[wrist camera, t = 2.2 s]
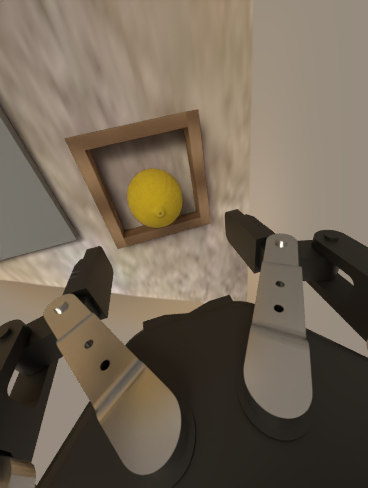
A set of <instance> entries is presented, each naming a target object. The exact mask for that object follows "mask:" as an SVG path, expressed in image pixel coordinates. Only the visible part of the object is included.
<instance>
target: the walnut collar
mask: <svg viewBox="0 0 368 488" xmlns="http://www.w3.org/2000/svg"><path fill="white" fill-rule="evenodd" d="M181 128H184V133H185V140H186V147H187V153H188V160H189V166H190V173H191V180H192V186H193V193H194V199H195V206H196V212H192V213H189V214H185V215H181V216H178V217H177V218H176V220H175V221H173V222H172V223H171V224H169V225H167V226H165V227H160V228H153V227H148V226H146V225H144V226H140V227H137V228H133V229H129V230H125V231H124V229H123V227H122V224H121V222H120V220H119V217H118V215H117V213H116V210H115V208H114V206H113V203H112V201H111V199H110V196H109V194H108V192H107V189H106V187H105V185H104V182H103V180H102V178H101V175H100V173H99V170H98V168H97V166H96V163H95V161H94V159H93V156H92V154H91V152H90V149H93V148H98V147H102V146H106V145H111V144H115V143H120V142H124V141H128V140H133V139H137V138H142V137H146V136H151V135H155V134H159V133H164V132H168V131H173V130H177V129H181ZM65 141H66V143H67V145H68V147H69V149H70V151H71V153H72V155H73V157H74V159H75V161H76V163H77V165H78V167H79V170H80V172H81V174H82V176H83V178H84V180H85V182H86V184H87V186H88V188H89V190H90V192H91V194H92V197H93V199H94V201H95V203H96V205H97V207H98V209H99V211H100V213H101V215H102V217H103V219H104V221H105V223H106V226H107V228H108V230H109V232H110V234H111V236H112V238H113V240H114V242H115V244H116V246H117V248H118V249H119V248H123V247H126V246H130V245H133V244H137V243H141V242H144V241H148V240H152V239H155V238H159V237H162V236H166V235H170V234H173V233H177V232H180V231H184V230H188V229H191V228H195V227H198V226H202V225H206V224H209V223H210V215H209V205H208V196H207V187H206V177H205V168H204V159H203V150H202V140H201V131H200V122H199V112H198V110H192V111H188V112H183V113H179V114H174V115H170V116H165V117H160V118H156V119H151V120H147V121H142V122H138V123H133V124H128V125H124V126H119V127H115V128H110V129H106V130H101V131H96V132H92V133H87V134H83V135H78V136H74V137H69V138H65Z"/></svg>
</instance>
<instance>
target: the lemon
mask: <svg viewBox="0 0 368 488" xmlns="http://www.w3.org/2000/svg"><path fill="white" fill-rule="evenodd" d="M127 199H128V205H129V208H130V210H131V212H132V214H133V215H134V216H135V218H136V219H137V220H138V221H139V222H141V223H142V224H144V225H146V226H148V227H153V228H160V227H165V226H167V225H169V224H171V223H172V222H173V221H175V220H176V218H177V217H178V216H179V214H180V212H181V209H182V203H183V199H182V192H181V189H180V186H179V184H178V183H177V181H176V180H175V178H174V177H172V176H171V175H170V174H169V173H167V172H165V171H163V170H160V169H147V170H143V171H141V172H140V173H138V174H137V175H136V176H135V177H134V178H133V179H132V181H131V183H130V185H129V187H128V192H127Z"/></svg>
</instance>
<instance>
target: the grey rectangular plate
mask: <svg viewBox="0 0 368 488" xmlns="http://www.w3.org/2000/svg"><path fill="white" fill-rule="evenodd" d="M77 238H78V234H77V232H76V231H75V229H74V227H73V226H72V224H71V223H70V221H69V219H68V218H67V216H66V214H65V213H64V211H63V209H62V208H61V206H60V204H59V203H58V201H57V199H56V198H55V196H54V194H53V193H52V191H51V189H50V188H49V186H48V185H47V183H46V181H45V180H44V178H43V176H42V175H41V173H40V171H39V170H38V168H37V166H36V165H35V163H34V161H33V160H32V158H31V156H30V155H29V153H28V151H27V150H26V148H25V147H24V145H23V143H22V142H21V140H20V138H19V137H18V135H17V133H16V132H15V130H14V128H13V127H12V125H11V123H10V122H9V120H8V118H7V117H6V115H5V113H4V112H3V110H2V109H1V107H0V260H3V259H7V258H11V257H14V256H18V255H22V254H26V253H29V252H33V251H37V250H41V249H44V248H48V247H52V246H55V245H59V244H63V243H67V242H70V241H74V240H77Z"/></svg>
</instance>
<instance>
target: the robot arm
mask: <svg viewBox="0 0 368 488" xmlns="http://www.w3.org/2000/svg"><path fill="white" fill-rule="evenodd" d="M225 229H226V237H227V239H228V241H229V243H230V244H231V245H232V246H233V248H234V249H235V250H236V251H237V253H238V254H239V255H240V256H241V258H242V259H243V260H244V261H245V263H246V264H247V265H248V266H249V268H250V269H251V270H252V271H253V272H254V273H258V272H260V278H259V284H258V290H257V296H256V302H255V304H253V303H249V302H243V301H233V300H232V299H231V297H230V295H228V296H224V297H221V298H218V299H215V300H211V301H209V302H207V303H205V304H203V305H202V306H200V307H198V308H197V309H195V310H193V311H192V312H190V313H185V314H172V315H163V316H160V317H157V318H154V319H151V320H147V321H145V322H143V330H142V331H140V332H139V333H137V334H136V335H135V336H134V337H133V338H132V339H131V340H129V342H128V343H127V344H126V345H124V344H123V343H122V342H121V341H120V340H119V339H118V338H117V337H116V336H115V335H114V334H113V333H112V332H111V330H110V329H109V328H108V327H107V326H106V325H105V324H104V323H103V322H102V321H101V320H102V319H105V318H107V317H108V310H109V303H110V295H111V288H112V281H113V268H112V265H111V263H110V262H109V260H108V258H107V256H106V254H105V252H104V250H103V249H102V247H101V246H98V247H94V248H90V249H87V250H86V253H85V255H84V258H83V259H81V260H80V261H79V262H78V263H77V264H76V265H75V266H74V269H73V271H72V274H71V276H70V279H69V281H68V283H67V286H66V288H65V291H64V293H63V295H62V296H60V297H58V298H56V299H55V300H53V301H52V302H51V303H50V304H49V305H48V306H47V308H46V309H45V311H44V314H43V316H42V317H40V318H38V319H36V320H34V321H32V322H30V323H28V324H27V325H26V324H25V323H23V322H22V321H21V320H12V321H9V322H7V323H5V324H3V325H2V326H0V488H368V358H367V357H365V356H363V355H361V354H359V353H357V352H355V351H353V350H350V349H348V348H346V347H344V346H342V345H340V344H338V343H336V342H334V341H332V340H330V339H327V338H325V337H323V336H321V335H319V334H317V333H315V332H313V331H311V330H309V329H306V328H305V314H304V296H303V281H307V283H308V284H309V285H310V286H311V287H312V288H314V290H315V291H316V292H317V293H318V294H319V295H320V296H321V297H322V298H323V299H324V300H325V301H326V302H327V303H328V304H329V305H330V306H331V307H332V308H333V309H334V310H335V311H336V312H337V313H338V314H339V315H340V316H341V317H342V318H343V319H344V320H345V321H346V322H347V323H348V324H349V325H350V326H351V327H352V328H353V329H354V330H355V331H356V332H357V333H358V334H359V335H360V336H361V337H362V338H363V339H364V340H365V341H366V342H367V349H368V247H366V246H364V245H363V244H361V243H359V242H358V241H356V240H354V239H352V238H351V237H349V236H347V235H345V234H344V233H341V232H338V231H334V230H321V231H318V232H316V233H315V234H314V238H313V240H305V241H297V240H296V239H295V238H294V237H292V236H290V235H287V234H275V233H274V232H273V231H272V230H270V229H269V228H268V227H266V226H265V225H263V224H262V223H261V222H260V221H259V220H257V219H256V218H255V217H253V216H250V215H247V214H246V215H244V214H243V213H241V212H240V211H239V210H238V209H236V210H232V211H228V212H226V213H225ZM339 268H340V269H341V270H342V271H344V272H345V273H346V274H348V275H349V276H350V277H351V278H352V280H353V283H354V286H353V285H352V284H351V283H350V282H348V281H347V280H346V279H344V278H343V277H342V276H341V275H339V274H338V270H339ZM62 356H64V358H65V360H66V361H67V363H68V365H69V366H70V368H71V370H72V371H73V373H74V375H75V376H76V378H77V380H78V381H79V383H80V385H81V387H82V388H83V390H84V392H85V393H86V395H87V396H88V398H89V400H90V402H89V403H88V404H87V406H86V408H85V409H84V411H83V412H82V414H81V416H80V417H79V419H78V421H77V422H76V424H75V425H74V427H73V428H72V430H71V432H70V433H69V435H68V436H67V438H66V440H65V441H64V443H63V445H62V446H61V448H60V449H59V451H58V453H57V454H56V456H55V457H54V459H53V461H52V462H51V464H50V465H49V467H48V468H47V470H46V472H45V473H44V475H43V476H42V478H41V480H40V481H39V483H38V485H36V484H35V479H36V471H35V467H34V465H33V464H32V463H31V461H32V458H33V454H34V450H35V446H36V442H37V439H38V435H39V431H40V427H41V423H42V420H43V416H44V412H45V408H46V404H47V401H48V397H49V393H50V389H51V386H52V382H53V378H54V374H55V370H56V367H57V363H58V359H59V358H61V357H62ZM14 370H17V371H19V374H18V377H17V379H16V382H15V384H14V386H13V389H12V391H11V394H10V396H8V393H7V388H8V384H9V381H10V379H11V377H12V374H13V372H14Z"/></svg>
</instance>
